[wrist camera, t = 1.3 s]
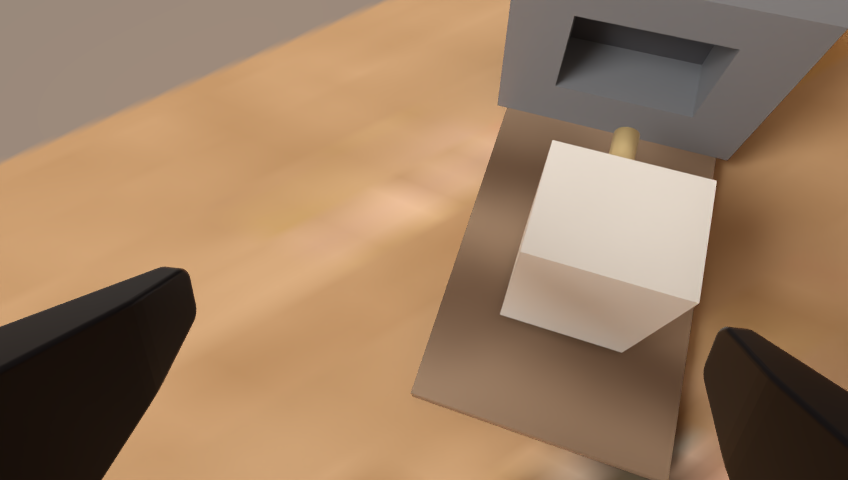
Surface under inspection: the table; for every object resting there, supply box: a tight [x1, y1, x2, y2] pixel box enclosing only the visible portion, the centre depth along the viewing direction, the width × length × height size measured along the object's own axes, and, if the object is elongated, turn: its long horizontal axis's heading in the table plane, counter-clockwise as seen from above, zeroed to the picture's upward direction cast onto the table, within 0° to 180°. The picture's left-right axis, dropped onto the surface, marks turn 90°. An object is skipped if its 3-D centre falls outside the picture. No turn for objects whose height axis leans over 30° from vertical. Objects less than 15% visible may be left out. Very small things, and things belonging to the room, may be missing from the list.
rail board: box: [411, 108, 716, 480], centre depth 24 cm, size 20×10×1 cm, turn 161°
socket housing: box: [498, 0, 848, 160], centre depth 22 cm, size 5×11×8 cm, turn 71°
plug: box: [500, 127, 717, 353], centre depth 19 cm, size 6×5×7 cm
